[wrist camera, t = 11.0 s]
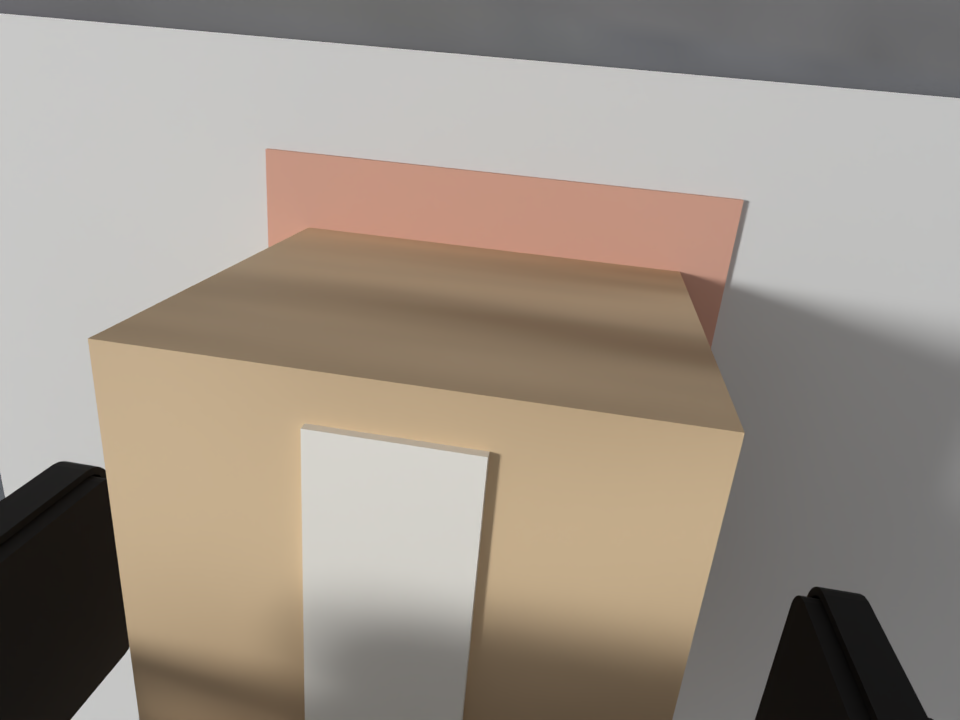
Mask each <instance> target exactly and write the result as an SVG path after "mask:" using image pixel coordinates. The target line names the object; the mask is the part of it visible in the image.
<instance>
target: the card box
mask: <svg viewBox="0 0 960 720" xmlns="http://www.w3.org/2000/svg"><path fill="white" fill-rule="evenodd" d="M88 344H89V352H90V359H91V367H92V374H93V381H94V389H95V396H96V403H97V411H98V418H99V426H100V433H101V440H102V448H103V455H104V462H105V470H106V477H107V485H108V492H109V499H110V507H111V514H112V521H113V529H114V536H115V544H116V551H117V558H118V566H119V573H120V580H121V588H122V595H123V603H124V610H125V617H126V625H127V632H128V639H129V647H130V654H131V662H132V669H133V676H134V684H135V691H136V698H137V706H138V713H139V720H672V719H673V715H674V711H675V707H676V703H677V699H678V695H679V691H680V687H681V683H682V679H683V675H684V671H685V667H686V663H687V660H688V656H689V652H690V648H691V644H692V640H693V636H694V632H695V628H696V624H697V620H698V616H699V612H700V608H701V604H702V600H703V596H704V592H705V588H706V584H707V581H708V577H709V573H710V569H711V565H712V561H713V557H714V553H715V549H716V545H717V541H718V537H719V533H720V529H721V525H722V521H723V517H724V513H725V509H726V505H727V501H728V498H729V494H730V490H731V486H732V482H733V478H734V474H735V470H736V466H737V462H738V458H739V454H740V450H741V446H742V442H743V438H744V434H745V432H744V429H743V427H742V425H741V422H740V420H739V417H738V415H737V412H736V410H735V407H734V405H733V402H732V400H731V397H730V395H729V392H728V390H727V387H726V385H725V382H724V380H723V377H722V375H721V372H720V370H719V368H718V365H717V363H716V360H715V358H714V355H713V353H712V350H711V348H710V345H709V343H708V340H707V338H706V335H705V333H704V330H703V328H702V325H701V323H700V320H699V318H698V316H697V313H696V311H695V308H694V306H693V303H692V301H691V298H690V296H689V293H688V291H687V288H686V286H685V283H684V281H683V278H682V276H681V273H680V272H679V271H670V270H662V269H654V268H645V267H637V266H628V265H620V264H612V263H603V262H595V261H586V260H578V259H570V258H561V257H553V256H544V255H536V254H528V253H519V252H511V251H503V250H494V249H486V248H477V247H469V246H461V245H452V244H444V243H435V242H427V241H419V240H410V239H402V238H393V237H385V236H377V235H368V234H360V233H351V232H343V231H335V230H326V229H318V228H309V227H308V228H306V229H304V230H302V231H300V232H298V233H297V234H295V235H293V236H291V237H289V238H287V239H285V240H283V241H281V242H279V243H277V244H275V245H273V246H271V247H269V248H267V249H265V250H263V251H261V252H259V253H257V254H255V255H253V256H251V257H249V258H247V259H245V260H243V261H241V262H239V263H237V264H235V265H233V266H231V267H229V268H227V269H225V270H223V271H221V272H219V273H217V274H215V275H213V276H211V277H209V278H207V279H205V280H203V281H201V282H199V283H197V284H195V285H193V286H191V287H189V288H187V289H185V290H183V291H181V292H179V293H177V294H175V295H173V296H171V297H169V298H167V299H165V300H163V301H161V302H159V303H157V304H155V305H153V306H151V307H149V308H147V309H145V310H143V311H141V312H139V313H137V314H135V315H134V316H132V317H130V318H128V319H126V320H124V321H122V322H120V323H118V324H116V325H114V326H112V327H110V328H108V329H106V330H104V331H102V332H100V333H98V334H96V335H94V336H92V337H90V338H88Z"/></svg>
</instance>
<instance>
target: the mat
mask: <svg viewBox="0 0 960 720" xmlns="http://www.w3.org/2000/svg"><path fill="white" fill-rule="evenodd" d="M308 227H309V228H318V229H326V230H335V231H343V232H351V233H360V234H368V235H377V236H385V237H393V238H402V239H410V240H419V241H427V242H435V243H444V244H452V245H461V246H469V247H477V248H486V249H494V250H503V251H511V252H519V253H528V254H536V255H544V256H553V257H561V258H570V259H578V260H586V261H595V262H603V263H612V264H620V265H628V266H637V267H645V268H654V269H662V270H670V271H679V272H680V273H681V276H682V278H683V281H684V283H685V286H686V288H687V291H688V293H689V296H690V298H691V301H692V303H693V306H694V308H695V311H696V313H697V316H698V318H699V320H700V323H701V325H702V328H703V330H704V333H705V335H706V338H707V340H708V343H709V345H710V348H711V350H712V353H713V355H714V358H715V360H716V363H717V365H718V368H719V370H720V372H721V375H722V377H723V380H724V382H725V385H726V387H727V390H728V392H729V395H730V397H731V400H732V402H733V405H734V407H735V410H736V412H737V415H738V417H739V420H740V422H741V425H742V427H743V429H744V432H745V434H744V438H743V442H742V446H741V450H740V454H739V458H738V462H737V466H736V470H735V474H734V478H733V482H732V486H731V490H730V494H729V498H728V501H727V505H726V509H725V513H724V517H723V521H722V525H721V529H720V533H719V537H718V541H717V545H716V549H715V553H714V557H713V561H712V565H711V569H710V573H709V577H708V581H707V584H706V588H705V592H704V596H703V600H702V604H701V608H700V612H699V616H698V620H697V624H696V628H695V632H694V636H693V640H692V644H691V648H690V652H689V656H688V660H687V663H686V667H685V671H684V675H683V679H682V683H681V687H680V691H679V695H678V699H677V703H676V707H675V711H674V715H673V719H672V720H755V718H756V715H757V711H758V708H759V705H760V702H761V699H762V695H763V692H764V689H765V686H766V683H767V680H768V676H769V673H770V670H771V667H772V664H773V660H774V657H775V654H776V651H777V648H778V644H779V641H780V638H781V635H782V632H783V629H784V625H785V622H786V619H787V616H788V613H789V609H790V606H791V603H792V601H793V599H794V598H795V596H798V595H800V596H806V597H807V595H808V593H809V591H810V590H811V589H812V588H813V587H816V586H817V587H823V588H829V589H835V590H841V591H847V592H853V593H859V594H862V595H864V596H865V597H866V599H867V600H868V601H869V603H870V605H871V607H872V609H873V611H874V613H875V615H876V617H877V619H878V621H879V623H880V625H881V627H882V628H883V630H884V632H885V634H886V636H887V638H888V640H889V642H890V644H891V646H892V648H893V650H894V652H895V654H896V656H897V658H898V660H899V662H900V664H901V666H902V668H903V669H904V671H905V673H906V675H907V677H908V679H909V681H910V683H911V685H912V687H913V689H914V691H915V693H916V695H917V697H918V699H919V701H920V703H921V705H922V707H923V708H924V710H925V712H926V714H927V716H928V718H932V719H933V720H960V98H949V97H938V96H927V95H916V94H904V93H893V92H882V91H870V90H859V89H848V88H836V87H825V86H814V85H803V84H791V83H780V82H769V81H757V80H746V79H735V78H723V77H712V76H701V75H690V74H678V73H667V72H656V71H644V70H633V69H622V68H610V67H599V66H588V65H576V64H565V63H554V62H543V61H531V60H520V59H509V58H497V57H486V56H475V55H463V54H452V53H441V52H430V51H418V50H407V49H396V48H384V47H373V46H362V45H350V44H339V43H328V42H317V41H305V40H294V39H283V38H271V37H260V36H249V35H237V34H226V33H215V32H204V31H192V30H181V29H170V28H158V27H147V26H136V25H124V24H113V23H102V22H90V21H79V20H68V19H57V18H45V17H34V16H23V15H11V14H0V473H1V478H2V483H3V488H4V493H5V498H6V497H7V496H9V495H10V494H11V493H13V492H14V491H16V490H17V489H19V488H20V487H21V486H23V485H24V484H26V483H27V482H29V481H30V480H32V479H33V478H34V477H36V476H37V475H39V474H40V473H42V472H43V471H44V470H46V469H47V468H49V467H50V466H52V465H53V464H55V463H57V462H60V461H68V462H74V463H80V464H86V465H92V466H98V467H101V468H103V469H105V462H104V455H103V448H102V440H101V433H100V426H99V418H98V411H97V403H96V396H95V389H94V381H93V374H92V367H91V359H90V352H89V344H88V338H90V337H92V336H94V335H96V334H98V333H100V332H102V331H104V330H106V329H108V328H110V327H112V326H114V325H116V324H118V323H120V322H122V321H124V320H126V319H128V318H130V317H132V316H134V315H135V314H137V313H139V312H141V311H143V310H145V309H147V308H149V307H151V306H153V305H155V304H157V303H159V302H161V301H163V300H165V299H167V298H169V297H171V296H173V295H175V294H177V293H179V292H181V291H183V290H185V289H187V288H189V287H191V286H193V285H195V284H197V283H199V282H201V281H203V280H205V279H207V278H209V277H211V276H213V275H215V274H217V273H219V272H221V271H223V270H225V269H227V268H229V267H231V266H233V265H235V264H237V263H239V262H241V261H243V260H245V259H247V258H249V257H251V256H253V255H255V254H257V253H259V252H261V251H263V250H265V249H267V248H269V247H271V246H273V245H275V244H277V243H279V242H281V241H283V240H285V239H287V238H289V237H291V236H293V235H295V234H297V233H298V232H300V231H302V230H304V229H306V228H308ZM71 720H139V713H138V706H137V698H136V691H135V684H134V676H133V669H132V662H131V654H130V647H129V649H128V651H127V652H126V654H125V655H124V656H123V657H122V659H121V660H120V661H119V662H118V663H117V665H116V666H115V667H114V668H113V669H112V671H111V672H110V673H109V674H108V675H107V677H106V678H105V679H104V680H103V681H102V683H101V684H100V685H99V686H98V687H97V689H96V690H95V691H94V692H93V693H92V695H91V696H90V697H89V698H88V699H87V701H86V702H85V703H84V704H83V705H82V707H81V708H80V709H79V710H78V711H77V713H76V714H75V715H74V716H73V717H72V719H71Z"/></svg>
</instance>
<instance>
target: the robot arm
mask: <svg viewBox="0 0 960 720" xmlns="http://www.w3.org/2000/svg"><path fill="white" fill-rule="evenodd" d="M128 649H129V639H128V632H127V625H126V617H125V610H124V603H123V595H122V588H121V580H120V573H119V566H118V558H117V551H116V544H115V536H114V529H113V521H112V514H111V507H110V499H109V492H108V485H107V477H106V470H105V469H103V468H101V467H98V466H92V465H86V464H80V463H74V462H68V461H60V462H57V463H55V464H53V465H52V466H50V467H49V468H47V469H46V470H44V471H43V472H42V473H40V474H39V475H37V476H36V477H34V478H33V479H32V480H30V481H29V482H27V483H26V484H24V485H23V486H21V487H20V488H19V489H17V490H16V491H14V492H13V493H11V494H10V495H9V496H7V497H6V498H4V499H3V500H1V501H0V720H71V719H72V717H73V716H74V715H75V714H76V713H77V711H78V710H79V709H80V708H81V707H82V705H83V704H84V703H85V702H86V701H87V699H88V698H89V697H90V696H91V695H92V693H93V692H94V691H95V690H96V689H97V687H98V686H99V685H100V684H101V683H102V681H103V680H104V679H105V678H106V677H107V675H108V674H109V673H110V672H111V671H112V669H113V668H114V667H115V666H116V665H117V663H118V662H119V661H120V660H121V659H122V657H123V656H124V655H125V654H126V652H127V651H128ZM755 720H933V719H932V718H928V716H927V714H926V712H925V710H924V708H923V707H922V705H921V703H920V701H919V699H918V697H917V695H916V693H915V691H914V689H913V687H912V685H911V683H910V681H909V679H908V677H907V675H906V673H905V671H904V669H903V668H902V666H901V664H900V662H899V660H898V658H897V656H896V654H895V652H894V650H893V648H892V646H891V644H890V642H889V640H888V638H887V636H886V634H885V632H884V630H883V628H882V627H881V625H880V623H879V621H878V619H877V617H876V615H875V613H874V611H873V609H872V607H871V605H870V603H869V601H868V600H867V599H866V597H865V596H864V595H862V594H859V593H853V592H847V591H841V590H835V589H829V588H823V587H817V586H816V587H813V588H812V589H811V590H810V591H809V593H808V595H807V597H806V596H800V595H798V596H795V598H794V599H793V601H792V603H791V606H790V609H789V613H788V616H787V619H786V622H785V625H784V629H783V632H782V635H781V638H780V641H779V644H778V648H777V651H776V654H775V657H774V660H773V664H772V667H771V670H770V673H769V676H768V680H767V683H766V686H765V689H764V692H763V695H762V699H761V702H760V705H759V708H758V711H757V715H756V718H755Z"/></svg>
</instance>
